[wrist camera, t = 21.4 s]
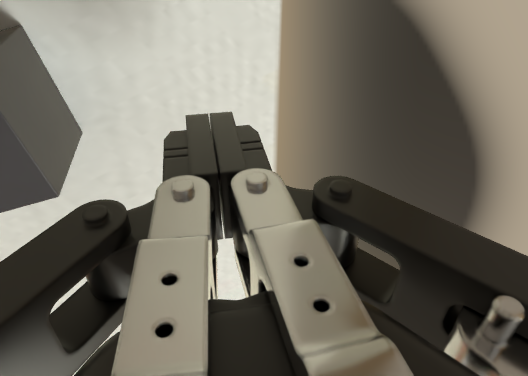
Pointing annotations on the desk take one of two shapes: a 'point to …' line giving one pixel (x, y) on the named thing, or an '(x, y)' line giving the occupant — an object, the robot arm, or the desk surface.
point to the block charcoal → (31, 126)
